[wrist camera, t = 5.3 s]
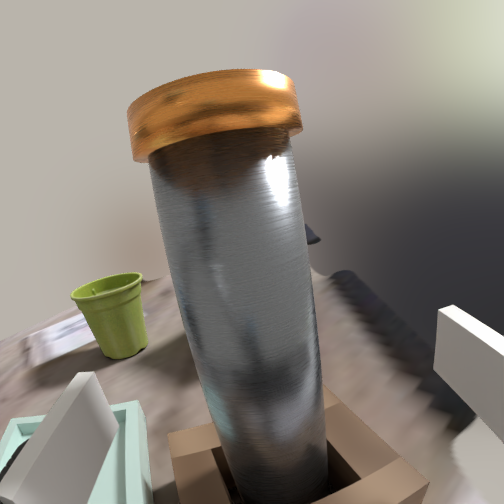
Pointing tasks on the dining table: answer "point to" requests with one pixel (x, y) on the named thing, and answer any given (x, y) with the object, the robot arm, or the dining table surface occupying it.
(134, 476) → the tray
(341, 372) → the dining table surface
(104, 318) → the plant pot
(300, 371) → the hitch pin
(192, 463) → the socket collar
